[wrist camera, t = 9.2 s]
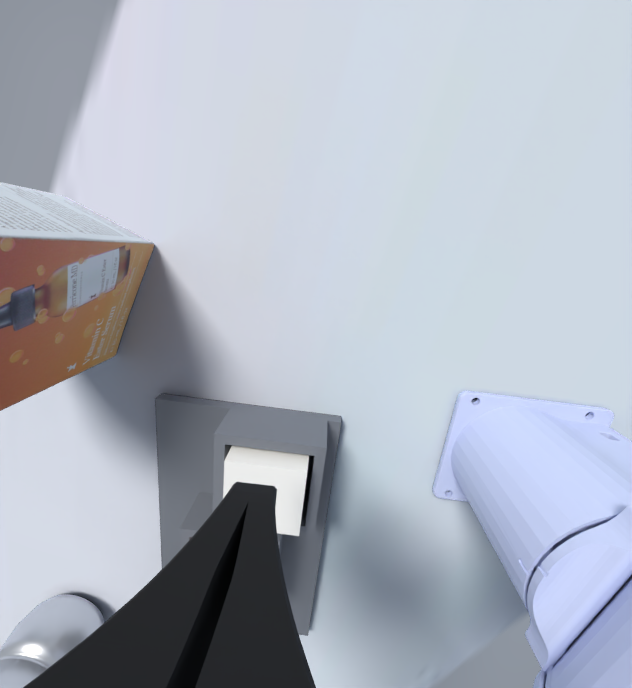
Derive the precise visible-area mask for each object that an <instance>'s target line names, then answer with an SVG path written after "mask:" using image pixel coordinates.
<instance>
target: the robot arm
mask: <svg viewBox="0 0 632 688" xmlns="http://www.w3.org/2000/svg"><path fill="white" fill-rule="evenodd" d="M474 398H477V401H475V402H471V401H472V399H474ZM588 412H589V414H588V415H587V416H585V415H586V414H587V413H588ZM613 419H614V413H613V412H612V411H610V410H609V409H607V408H602V407H594V406H586V405H578V404H570V403H562V402H554V401H546V400H538V399H530V398H522V397H514V396H506V395H497V394H489V393H481V392H473V391H463V392H461V393H460V394H459V395H458V397H457V401H456V404H455V408H454V412H453V415H452V419H451V423H450V426H449V430H448V434H447V437H446V441H445V445H444V448H443V452H442V455H441V459H440V463H439V466H438V470H437V474H436V477H435V481H434V485H433V493H434V495H435V496H436V497H438V498H443V499H451V500H459V501H467V502H469V504H470V505H471V507H472V509H473V511H474V513H475V515H476V516H477V518H478V520H479V522H480V524H481V526H482V528H483V529H484V531H485V533H486V535H487V537H488V539H489V541H490V542H491V544H492V546H493V548H494V550H495V552H496V554H497V555H498V557H499V559H500V561H501V563H502V565H503V566H504V568H505V570H506V572H507V574H508V576H509V578H510V579H511V581H512V583H513V585H514V587H515V589H516V591H517V592H518V594H519V596H520V598H521V600H522V602H523V603H524V605H525V607H526V609H527V611H528V612H529V614H530V625H529V628H528V629H527V631H526V633H525V636H526V638H527V640H528V642H529V644H530V646H531V648H532V650H533V652H534V654H535V656H536V658H537V660H538V662H539V664H540V666H541V668H542V670H540V672H539V673H538V675H537V676H536V678H535V681H534V685H533V688H632V441H631V440H629V439H628V438H626V437H624V436H623V435H621V434H620V433H618V432H617V431H615V430H614V429H612V428H610V425H611V423H612V421H613ZM448 490H450V491H449V492H446V491H448ZM276 496H277V489H276V488H275V486H270V485H261V484H252V483H244V482H236V483H234V484H233V485H232V487H231V488H230V490H229V491H228V493H227V494H226V496H225V497H224V498H223V500H222V501H221V502H220V504H219V505H218V506H217V508H216V509H215V510H214V511H213V513H212V514H211V515H210V517H209V518H208V519H207V520H206V521H205V523H204V524H203V525H202V526H201V527H200V528H199V530H198V531H197V532H196V533H195V534H194V536H193V537H192V538H191V539H190V540H189V541H188V542H187V543H186V545H185V546H184V547H183V548H182V549H181V550H180V551H179V552H178V553H177V554H176V555H175V556H174V558H173V559H172V560H171V561H170V562H169V563H168V564H167V565H166V566H165V567H164V568H163V569H162V570H161V571H160V572H159V573H158V574H157V575H156V576H155V577H154V578H153V579H152V580H151V581H150V582H149V583H148V584H147V585H146V586H145V587H144V588H143V589H142V590H140V591H139V592H138V593H137V594H136V595H135V596H134V597H133V598H132V599H131V600H130V601H129V602H127V603H126V604H125V605H124V606H123V607H122V608H121V609H120V610H118V611H117V612H116V613H115V614H114V615H113V616H112V617H111V618H109V619H108V620H107V621H106V622H105V623H104V624H102V625H101V626H100V627H99V628H98V629H97V630H95V631H94V632H93V633H92V634H91V635H89V636H88V637H87V638H86V639H85V640H83V641H82V642H81V643H79V644H78V645H77V646H76V647H74V648H73V649H72V650H71V651H69V652H68V653H67V654H66V655H64V656H63V657H62V658H60V659H59V660H58V661H57V662H55V663H54V664H53V665H52V666H50V667H49V668H48V669H47V670H45V671H44V672H43V673H41V674H40V675H39V676H38V677H36V678H35V679H34V680H32V681H31V682H30V683H28V684H27V685H26V686H24V687H23V688H316V687H315V684H314V681H313V678H312V675H311V672H310V669H309V666H308V663H307V659H306V656H305V653H304V650H303V647H302V644H301V641H300V638H299V634H298V631H297V627H296V624H295V620H294V617H293V613H292V609H291V605H290V601H289V597H288V593H287V588H286V584H285V579H284V574H283V569H282V564H281V558H280V552H279V545H278V537H277V529H276V514H275V506H276Z"/></svg>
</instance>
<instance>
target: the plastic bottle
mask: <svg viewBox="0 0 632 688" xmlns="http://www.w3.org/2000/svg"><path fill="white" fill-rule="evenodd" d="M102 624H104V619H103V616H102V614H101V612H100V610H99V609H98V608H97V607H96V606H95V605H94V604H93V603H91V602H90V601H88V600H87V599H84V598H82V597H79V596H76V595H70V594H62V595H57V596H54V597H52V598H50V599H48V600H46V601H44V602H42V603H40V604H39V605H37V606H36V607H35V608H34V609H33V610H32V611H31V612H30V613H29V614H28V615H27V616H26V617H25V618H24V619H23V620H22V621H21V622H20V623H19V624H18V625H17V626H16V627H15V629H14V630H13V632H12V633H11V634H10V636H9V637H8V639H7V640H6V642H5V643H4V644H3V646H2V647H1V649H0V688H23V687H24V686H26V685H27V684H28V683H30V682H31V681H32V680H34V679H35V678H36V677H38V676H39V675H40V674H41V673H43V672H44V671H45V670H47V669H48V668H49V667H50V666H52V665H53V664H54V663H55V662H57V661H58V660H59V659H60V658H62V657H63V656H64V655H66V654H67V653H68V652H69V651H71V650H72V649H73V648H74V647H76V646H77V645H78V644H79V643H81V642H82V641H83V640H85V639H86V638H87V637H88V636H89V635H91V634H92V633H93V632H94V631H95V630H97V629H98V628H99V627H100V626H101V625H102Z"/></svg>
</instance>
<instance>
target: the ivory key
mask: <svg viewBox="0 0 632 688" xmlns="http://www.w3.org/2000/svg"><path fill="white" fill-rule="evenodd" d="M308 461H309V455H304V454H296V453H288V452H281V451H273V450H265V449H257V448H249V447H241V446H234V445H232V447H231V449H230V451H229V453H228V455H227V457H226V459H225V461H224V485H223V498H224V497H225V496H226V494H227V493H228V491H229V490H230V488H231V487H232V485H233V484H234V483H236V482H244V483H252V484H261V485H270V486H275V488H276V489H277V496H276V506H275V514H276V529H277V533H279V534H286V535H294V536H299V533H300V525H301V517H302V510H303V502H304V494H305V486H306V478H307V470H308Z"/></svg>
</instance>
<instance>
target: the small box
mask: <svg viewBox="0 0 632 688" xmlns="http://www.w3.org/2000/svg"><path fill="white" fill-rule="evenodd" d="M153 249H154V244H153V243H152V242H151V241H149V240H147V239H145V238H144V237H142V236H140V235H138V234H136V233H135V232H133V231H131V230H129V229H127V228H125V227H123V226H121V225H120V224H118V223H116V222H114V221H112V220H110V219H108V218H106V217H104V216H103V215H101V214H99V213H97V212H95V211H93V210H91V209H89V208H88V207H86V206H84V205H82V204H80V203H78V202H76V201H74V200H72V199H70V198H68V197H66V196H63V195H58V194H53V193H48V192H44V191H39V190H34V189H30V188H25V187H20V186H15V185H11V184H6V183H1V182H0V411H1V410H3V409H5V408H7V407H9V406H11V405H14V404H16V403H18V402H20V401H22V400H24V399H26V398H28V397H30V396H32V395H35V394H37V393H39V392H41V391H43V390H45V389H47V388H49V387H51V386H54V385H55V384H57V383H60V382H62V381H64V380H66V379H68V378H71V377H73V376H75V375H77V374H79V373H81V372H83V371H85V370H87V369H89V368H91V367H94V366H96V365H98V364H100V363H102V362H104V361H106V360H108V359H110V358H112V357H114V356H115V355H116V353H117V349H118V346H119V343H120V339H121V336H122V333H123V330H124V327H125V324H126V322H127V319H128V316H129V313H130V310H131V308H132V305H133V302H134V300H135V297H136V294H137V291H138V289H139V286H140V283H141V281H142V278H143V275H144V272H145V270H146V267H147V264H148V261H149V259H150V257H151V254H152V251H153Z"/></svg>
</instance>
